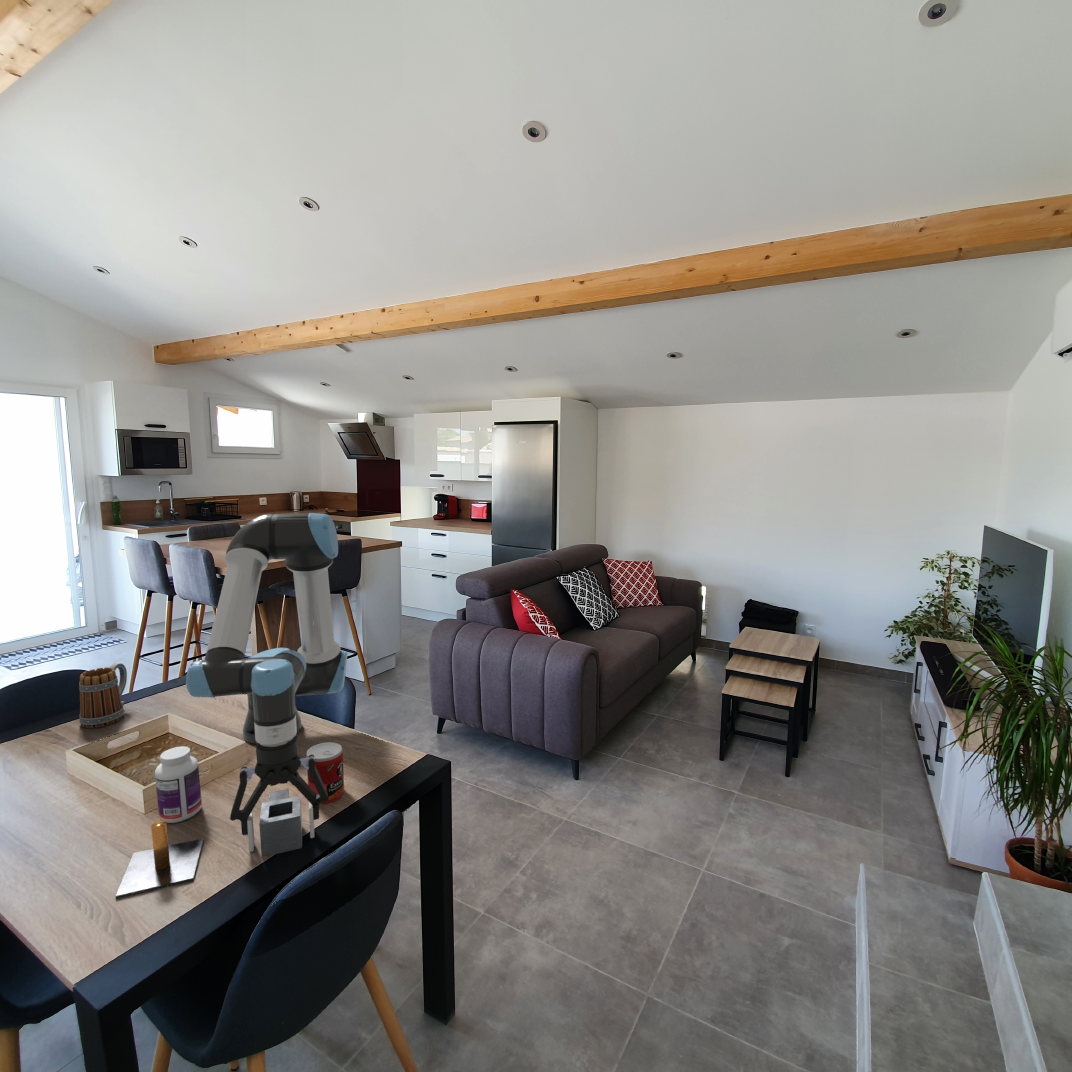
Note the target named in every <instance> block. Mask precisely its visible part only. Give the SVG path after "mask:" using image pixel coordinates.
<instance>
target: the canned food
mask: <svg viewBox="0 0 1072 1072" xmlns="http://www.w3.org/2000/svg"><path fill="white" fill-rule="evenodd" d="M343 752H344V751H343V747H342V745H341V744H339V743H336V742H328V741H327V742H322V743H318V744H317V743H316V745H315V744H314V745H313V746H310V748H308V749H307V751H306V755H305V756H306V758H308V757H309V755H314V757H315V766H316V768H317V771H318V773H319V775H320V777H321V779H322V781H323V784H324V786H325V788H326V790H327V795H328V800H327V801H325V802H321V803H320V804H329V803H332V802H334V801H337V800H338V799H340V798H342V796H343V794H344V791H345V779H344V778H345V777H344V754H343ZM306 771H307V784H308V785H309V786H310V788H311V789H312V790H313V791H314V792H315V793H316V794H317V795H318V794H319V793H318V791H317V789H316V787H315V785H314V783H313V781H312V778H311V776H310V774H309V769H308V770H307V769H306Z"/></svg>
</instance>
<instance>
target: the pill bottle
mask: <svg viewBox="0 0 1072 1072" xmlns="http://www.w3.org/2000/svg"><path fill="white" fill-rule="evenodd" d="M159 757H160V758H159V759H160V763H159V764H158V765H157V767H156V768H155V771H154V779H155V789H156V799H157V808H158V809H157V810H158V817H159V819H160V821H166V824H169V823H170V824H174V823H175V824H176V823H180V822H184V821H185V820H188V819H191V818H192V817H194V816H195V815H196V814H197V813H199V812H200V811H201V808H202V804H203V802H202V801H203V800H202V791H201V781H200V779H201V778H200V767H199V761H198V758H195V757H194V756H192V755H191V748H190V747H189V746H175V747H172V748H169V749H166V750H165V751H162V753H161V754H160V756H159Z"/></svg>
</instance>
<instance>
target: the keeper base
mask: <svg viewBox="0 0 1072 1072" xmlns="http://www.w3.org/2000/svg"><path fill="white" fill-rule="evenodd" d="M150 829H151V841H152V848H151V849H145V850H141V851H136V852H133V854H132V856H131V858H130V860H129V863H128V865H127V868H126V870H125V872H124V874H123V877H122V880H121V882H120V884H119V887H118V889H117V892H116V894H115V900H119V899H122V898H127V897H130V896H135V895H139V894H143V893H147V892H151V891H155V890H160V889H165V888H168V887H172V886H173V887H174V886H177V885H181V884H185V883H186V884H187V883H190V882H193V881H194V880H195V877H196V872H197V869H198V865H199V861H200V856H201V852H202V848H203V845H204V837H203V838H198V839H194V840H188V841H184V842H179V843H172V844H169V838H168V837H169V836H168V827H167V822H166V821H162V820H158V821H155V822H154V823H152V824H151V826H150Z"/></svg>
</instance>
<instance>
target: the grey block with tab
mask: <svg viewBox="0 0 1072 1072" xmlns="http://www.w3.org/2000/svg"><path fill="white" fill-rule="evenodd" d="M286 798H290V789H289V788H283V789H279V790H274V791H269V793H268V801H267V802H271V801H276V800H281V799H286Z"/></svg>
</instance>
